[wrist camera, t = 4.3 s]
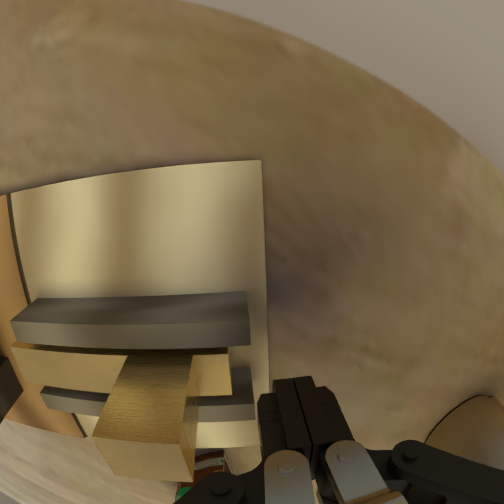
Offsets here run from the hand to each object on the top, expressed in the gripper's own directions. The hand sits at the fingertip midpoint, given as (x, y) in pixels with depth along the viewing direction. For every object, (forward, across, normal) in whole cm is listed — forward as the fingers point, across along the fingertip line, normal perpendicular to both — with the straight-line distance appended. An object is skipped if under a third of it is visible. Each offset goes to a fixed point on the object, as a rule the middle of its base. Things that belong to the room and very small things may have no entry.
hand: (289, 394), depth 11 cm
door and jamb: (+7, +12, 0) cm, 14 cm away
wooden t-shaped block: (+4, +8, 0) cm, 9 cm away
